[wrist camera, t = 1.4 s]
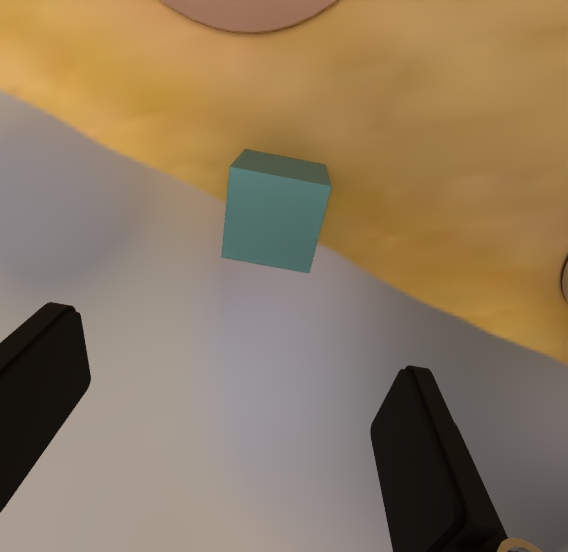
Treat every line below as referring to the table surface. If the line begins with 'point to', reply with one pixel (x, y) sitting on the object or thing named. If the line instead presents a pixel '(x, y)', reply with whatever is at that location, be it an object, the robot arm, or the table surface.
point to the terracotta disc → (250, 13)
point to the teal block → (274, 210)
